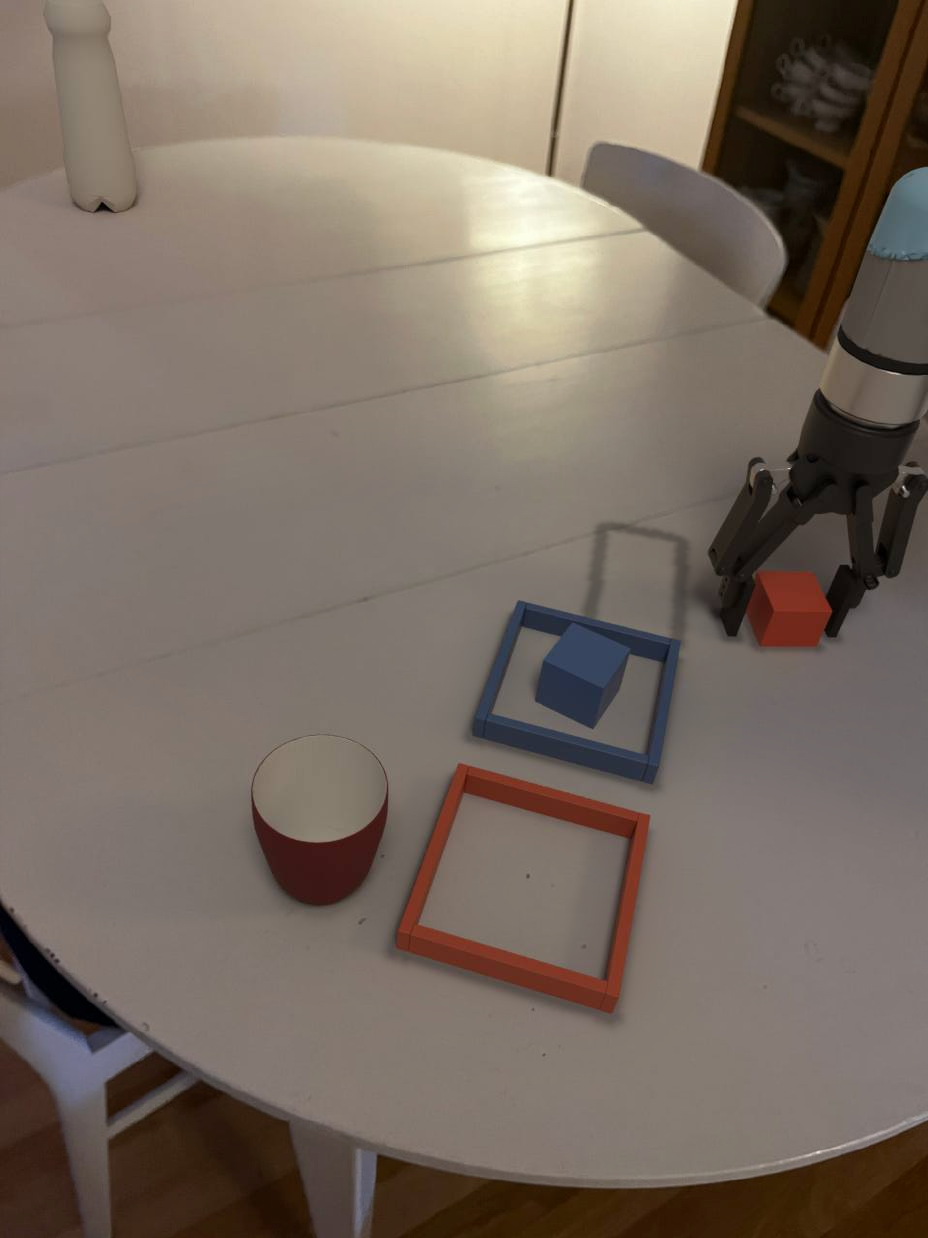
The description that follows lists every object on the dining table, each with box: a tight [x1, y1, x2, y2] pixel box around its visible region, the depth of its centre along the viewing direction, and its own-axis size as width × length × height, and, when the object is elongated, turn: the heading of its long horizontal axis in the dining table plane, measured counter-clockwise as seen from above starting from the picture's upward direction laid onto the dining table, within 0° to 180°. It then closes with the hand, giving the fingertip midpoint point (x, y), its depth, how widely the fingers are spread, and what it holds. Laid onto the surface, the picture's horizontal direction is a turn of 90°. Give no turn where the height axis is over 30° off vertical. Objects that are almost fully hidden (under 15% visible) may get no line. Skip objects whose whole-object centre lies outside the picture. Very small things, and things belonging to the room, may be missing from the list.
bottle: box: [42, 0, 138, 213], centre depth 130 cm, size 9×9×30 cm
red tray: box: [395, 762, 651, 1015], centre depth 66 cm, size 14×14×3 cm
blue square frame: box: [472, 599, 682, 786], centre depth 79 cm, size 14×14×3 cm
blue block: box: [534, 623, 631, 730], centre depth 78 cm, size 5×5×5 cm
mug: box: [250, 734, 389, 906], centre depth 64 cm, size 10×8×10 cm
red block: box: [745, 570, 832, 648], centre depth 86 cm, size 5×5×5 cm
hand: (775, 631), depth 88 cm, fingers open, 8 cm apart
